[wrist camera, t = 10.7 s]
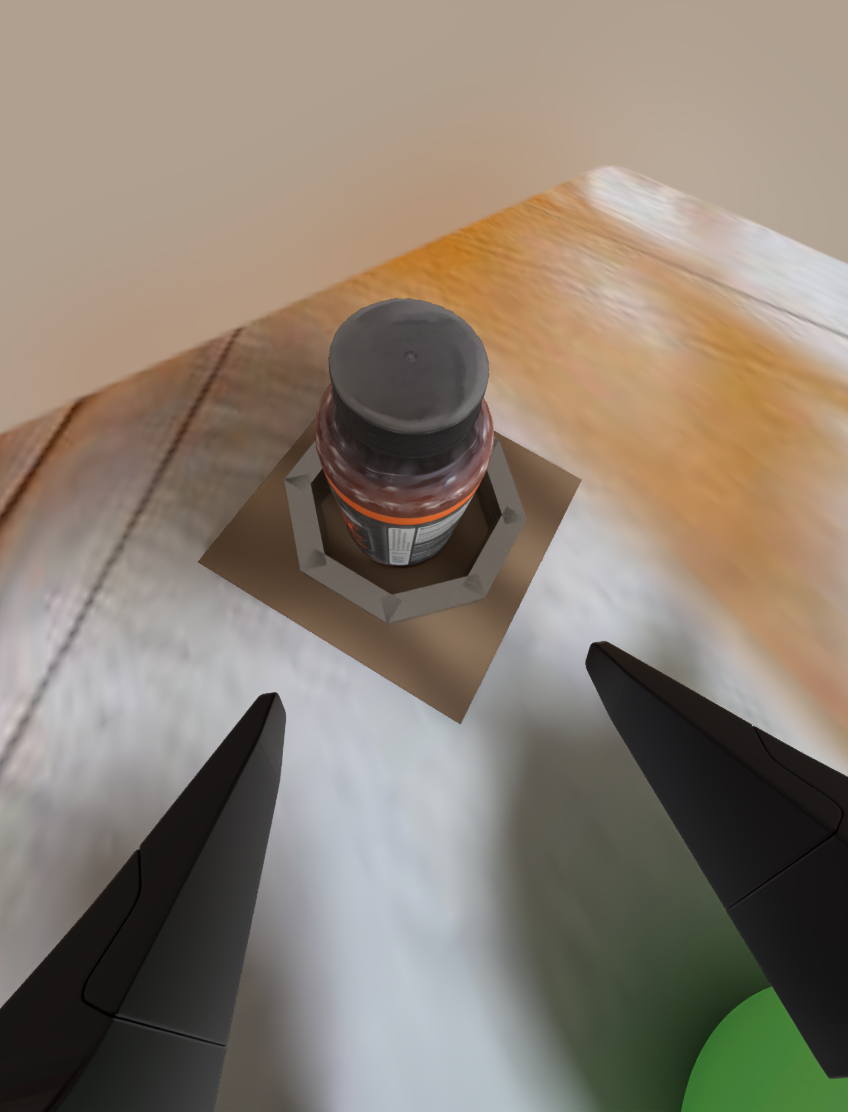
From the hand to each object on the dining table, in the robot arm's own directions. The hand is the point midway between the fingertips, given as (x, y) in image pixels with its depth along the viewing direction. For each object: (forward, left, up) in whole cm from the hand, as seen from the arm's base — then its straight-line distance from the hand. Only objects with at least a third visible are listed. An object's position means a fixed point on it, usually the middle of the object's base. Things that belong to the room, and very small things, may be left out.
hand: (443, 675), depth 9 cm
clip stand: (+6, +5, -9) cm, 12 cm away
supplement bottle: (+6, +5, -8) cm, 11 cm away
